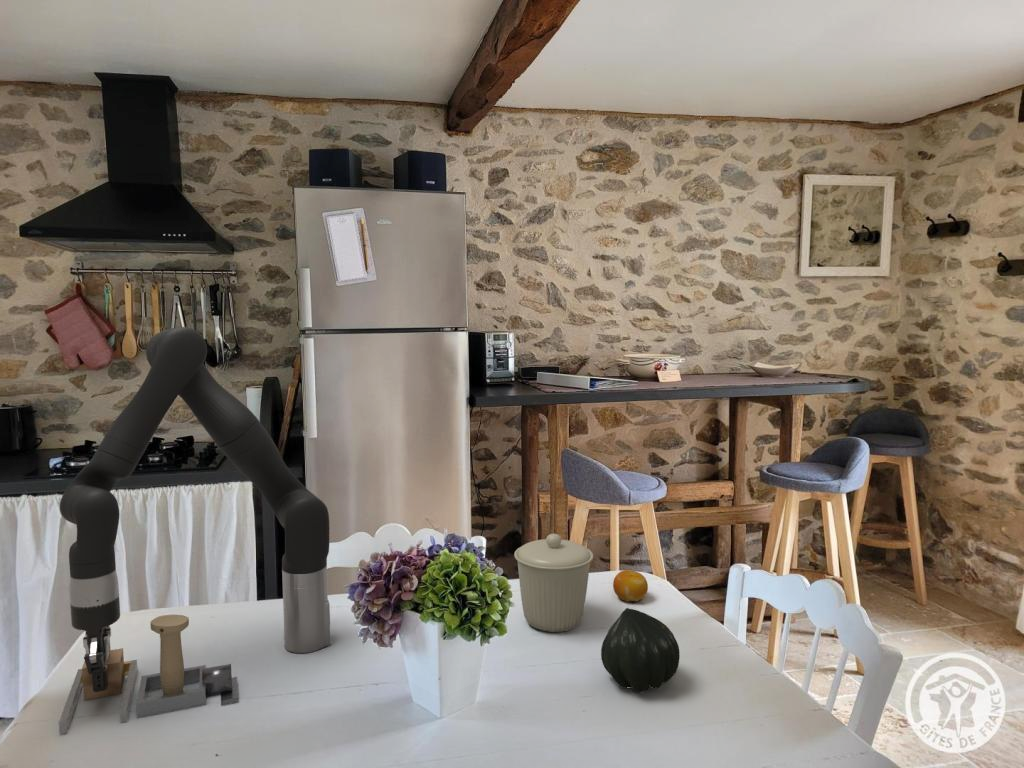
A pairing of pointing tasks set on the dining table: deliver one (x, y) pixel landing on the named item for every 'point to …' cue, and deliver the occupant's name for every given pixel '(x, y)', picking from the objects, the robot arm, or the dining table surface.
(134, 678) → the bay
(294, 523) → the robot arm
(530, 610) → the canister
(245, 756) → the dining table surface
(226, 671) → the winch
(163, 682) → the handle
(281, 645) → the dining table surface
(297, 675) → the dining table surface
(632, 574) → the fruit
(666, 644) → the squash
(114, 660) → the tan cardboard box
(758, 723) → the dining table surface
